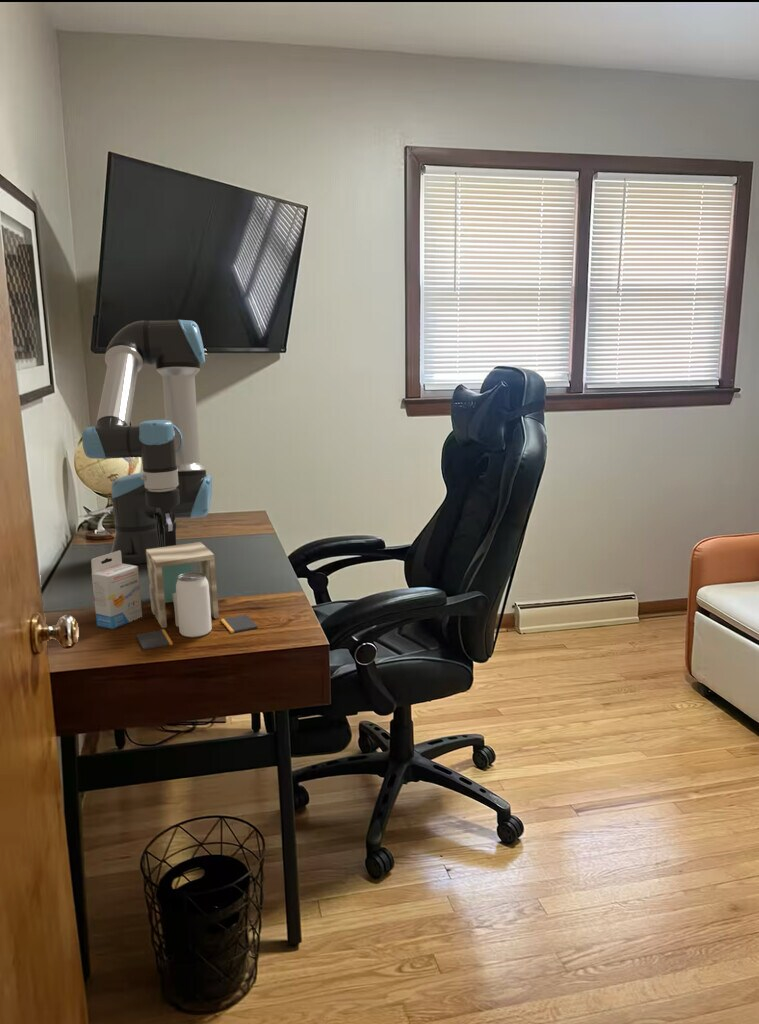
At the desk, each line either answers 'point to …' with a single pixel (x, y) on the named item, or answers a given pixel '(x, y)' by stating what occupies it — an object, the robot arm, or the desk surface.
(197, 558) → the tunnel
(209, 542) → the desk surface
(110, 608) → the ink box
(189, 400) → the robot arm
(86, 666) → the desk surface
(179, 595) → the can
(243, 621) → the mats
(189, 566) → the slider
